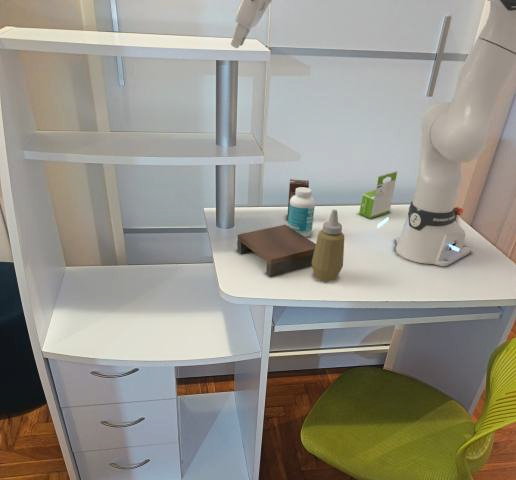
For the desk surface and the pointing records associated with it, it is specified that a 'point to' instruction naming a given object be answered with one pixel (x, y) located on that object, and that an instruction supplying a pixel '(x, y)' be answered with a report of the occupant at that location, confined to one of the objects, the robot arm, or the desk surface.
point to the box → (293, 186)
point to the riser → (278, 248)
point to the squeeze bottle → (329, 250)
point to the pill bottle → (301, 211)
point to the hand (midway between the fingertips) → (236, 45)
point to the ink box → (378, 197)
